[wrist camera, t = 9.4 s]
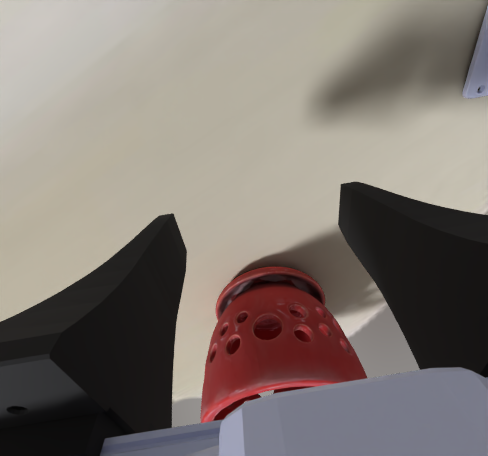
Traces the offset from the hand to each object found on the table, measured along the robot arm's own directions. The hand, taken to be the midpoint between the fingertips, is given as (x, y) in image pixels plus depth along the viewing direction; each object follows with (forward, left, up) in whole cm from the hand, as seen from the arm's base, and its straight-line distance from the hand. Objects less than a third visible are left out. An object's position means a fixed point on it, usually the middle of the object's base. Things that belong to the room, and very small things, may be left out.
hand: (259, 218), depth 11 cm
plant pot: (0, +17, -10) cm, 20 cm away
